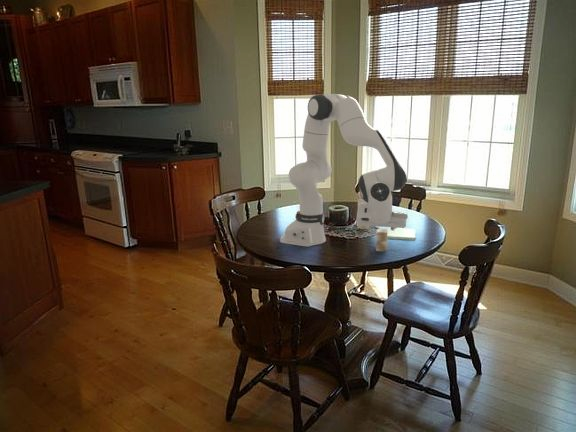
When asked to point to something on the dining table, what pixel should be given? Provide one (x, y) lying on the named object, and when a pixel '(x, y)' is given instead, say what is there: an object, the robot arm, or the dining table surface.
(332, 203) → the dining table surface
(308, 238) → the robot arm
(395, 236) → the white square tile
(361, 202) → the coffeecake box
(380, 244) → the maple block
